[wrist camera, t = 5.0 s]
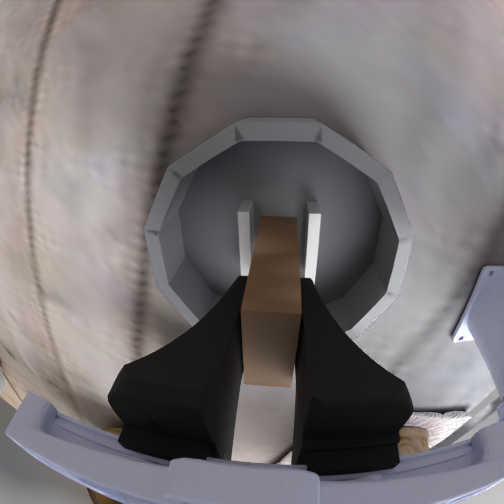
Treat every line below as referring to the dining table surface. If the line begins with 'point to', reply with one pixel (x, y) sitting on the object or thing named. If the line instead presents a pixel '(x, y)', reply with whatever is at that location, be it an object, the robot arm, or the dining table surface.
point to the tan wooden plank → (272, 304)
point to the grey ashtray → (280, 204)
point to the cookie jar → (421, 431)
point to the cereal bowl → (1, 380)
